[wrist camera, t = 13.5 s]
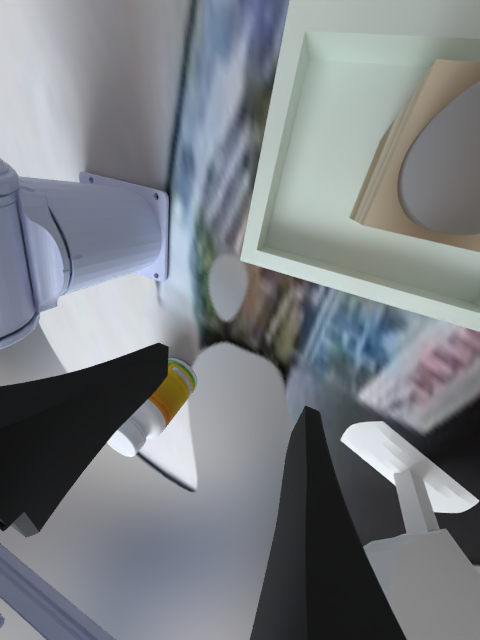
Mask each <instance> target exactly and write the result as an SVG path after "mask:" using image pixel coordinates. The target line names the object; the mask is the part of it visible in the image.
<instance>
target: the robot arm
mask: <svg viewBox="0 0 480 640" xmlns="http://www.w3.org/2000/svg"><path fill="white" fill-rule="evenodd" d="M79 180H80V183H77V182H68V181H58V180H48V179H39V178H29V177H19V176H18V175H17V173H16V171H15V170H14V169H13V168H12V167H11V166H10V165H8V164H7V163H5V162H4V161H3V160H2V159H0V349H2V348H5V347H7V346H10V345H12V344H14V343H16V342H18V341H19V340H21V339H23V338H24V337H26V336H27V335H28V334H30V333H31V332H32V331H33V330H34V329H35V327H36V326H37V324H38V322H39V319H40V312H42V311H45V310H48V309H51V308H54V307H57V300H58V298H59V297H60V296H62V295H65V294H68V293H71V292H74V291H77V290H80V289H84V288H87V287H90V286H93V285H96V284H99V283H102V282H106V281H109V280H112V279H115V278H118V277H121V276H124V275H127V274H131V273H137V274H140V275H143V276H146V277H148V278H151V279H154V280H157V281H160V282H164V281H166V280H167V256H168V210H169V197H168V194H167V193H166V192H165V191H161V190H157V189H153V188H149V187H145V186H141V185H137V184H133V183H129V182H124V181H120V180H116V179H112V178H108V177H104V176H100V175H96V174H92V173H87V172H80V173H79ZM93 180H94V182H93ZM157 194H158V196H159V198H158V199H157ZM157 274H158V276H159V277H158V276H157ZM168 350H169V347H168V346H165V345H163V344H161V343H156V344H154V345H151V346H148V347H145V348H143V349H140V350H138V351H135V352H132V353H130V354H127V355H124V356H121V357H119V358H116V359H113V360H110V361H107V362H104V363H101V364H98V365H95V366H92V367H89V368H85V369H82V370H78V371H75V372H71V373H67V374H63V375H59V376H55V377H50V378H45V379H40V380H35V381H30V382H25V383H20V384H14V385H7V386H0V529H1V530H2V531H4V530H6V529H7V528H8V527H9V526H10V525H11V526H12V527H13V528H15V529H16V530H17V531H18V532H20V533H21V534H22V535H24V536H25V537H29V536H32V535H35V534H36V533H38V532H40V530H41V529H42V527H43V526H44V524H45V523H46V521H47V520H48V519H49V517H50V516H51V514H52V513H53V512H54V510H55V509H56V507H57V506H58V505H59V503H60V502H61V500H62V499H63V498H64V496H65V495H66V493H67V492H68V491H69V490H70V488H71V487H72V486H73V484H74V483H75V482H76V480H77V479H78V478H79V476H80V475H81V474H82V472H83V471H84V470H85V469H86V467H87V466H88V465H89V464H90V462H91V461H92V459H94V457H95V456H96V455H97V453H98V452H99V451H100V450H101V448H102V447H103V446H104V445H105V444H106V443H107V442H108V440H109V439H110V438H111V437H112V436H113V434H114V433H115V432H116V431H117V430H118V429H119V428H120V427H121V426H122V425H123V424H124V423H125V422H126V421H127V420H128V419H129V418H130V417H131V416H132V415H133V414H134V413H135V412H136V411H137V410H138V409H139V408H140V407H141V406H142V405H143V404H144V403H145V402H146V401H147V400H148V399H149V398H150V397H151V396H152V394H153V393H154V392H155V391H156V390H157V389H158V388H159V386H160V385H161V384H162V382H163V381H164V380H165V378H166V377H167V376H168ZM0 598H1V599H3V600H4V601H5V602H6V603H7V604H8V605H9V606H10V607H11V608H12V609H14V610H15V611H16V612H17V613H18V614H19V615H20V616H21V617H22V618H23V619H24V620H26V621H27V622H28V623H29V624H30V625H31V626H32V627H33V628H35V630H37V631H38V632H39V633H40V634H41V635H42V636H43V637H44V638H46V640H116V639H114V638H113V637H112V636H111V635H109V634H108V633H107V632H106V631H105V630H103V629H102V628H101V627H100V626H98V625H97V624H96V623H95V622H94V621H93V620H91V619H90V618H89V617H88V616H87V615H85V614H84V613H83V612H82V611H81V610H79V609H78V608H77V607H76V606H75V605H73V604H72V603H71V602H70V601H69V600H67V599H66V598H65V597H64V596H63V595H61V594H60V593H59V592H58V591H57V590H55V589H54V588H53V587H52V586H51V585H49V584H48V583H47V582H45V580H43V579H42V578H41V577H40V576H38V575H37V574H36V573H35V572H34V571H33V570H31V569H30V568H29V567H28V566H27V565H25V564H24V563H23V562H22V561H20V560H19V559H18V558H17V557H16V556H14V555H13V554H12V553H11V552H10V551H8V550H7V549H6V548H5V547H4V546H2V545H1V544H0ZM4 620H5V619H4V618H3V616H2V615H1V614H0V628H1V627H2V625H3V624H4ZM250 640H407V639H406V637H405V635H404V633H403V631H402V629H401V627H400V625H399V623H398V621H397V619H396V617H395V615H394V613H393V611H392V609H391V607H390V605H389V602H388V600H387V598H386V596H385V594H384V592H383V590H382V587H381V585H380V583H379V581H378V579H377V577H376V575H375V572H374V570H373V568H372V566H371V564H370V562H369V560H368V557H367V555H366V553H365V550H364V548H363V546H362V543H361V541H360V539H359V536H358V534H357V532H356V529H355V526H354V524H353V521H352V519H351V516H350V514H349V511H348V509H347V506H346V503H345V500H344V498H343V495H342V492H341V489H340V486H339V483H338V480H337V477H336V474H335V470H334V467H333V464H332V460H331V457H330V453H329V450H328V446H327V442H326V438H325V433H324V429H323V424H322V419H321V414H320V412H319V411H317V410H315V409H312V408H310V407H308V406H305V407H304V409H303V411H302V413H301V415H300V417H299V419H298V421H297V423H296V425H295V427H294V429H293V431H292V433H291V437H290V441H289V445H288V449H287V453H286V459H285V466H284V473H283V480H282V488H281V496H280V503H279V511H278V517H277V523H276V528H275V533H274V538H273V542H272V547H271V551H270V556H269V560H268V565H267V569H266V574H265V578H264V583H263V587H262V591H261V595H260V599H259V604H258V608H257V612H256V616H255V621H254V625H253V629H252V633H251V637H250Z"/></svg>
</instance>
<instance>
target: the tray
mask: <svg viewBox="0 0 480 640" xmlns="http://www.w3.org/2000/svg"><path fill="white" fill-rule="evenodd" d="M436 59H442V60H457V61H472V62H480V0H290V2H289V7H288V12H287V18H286V23H285V28H284V33H283V39H282V44H281V49H280V54H279V60H278V65H277V70H276V75H275V81H274V86H273V91H272V96H271V102H270V107H269V112H268V117H267V123H266V128H265V133H264V138H263V144H262V149H261V154H260V159H259V165H258V170H257V175H256V180H255V186H254V191H253V196H252V201H251V207H250V212H249V217H248V222H247V228H246V233H245V238H244V243H243V249H242V254H241V259H240V261H243V262H247V263H250V264H254V265H257V266H260V267H264V268H267V269H270V270H274V271H277V272H280V273H284V274H287V275H290V276H294V277H297V278H300V279H304V280H307V281H311V282H314V283H317V284H321V285H324V286H327V287H331V288H334V289H337V290H341V291H344V292H347V293H351V294H354V295H357V296H361V297H364V298H368V299H371V300H374V301H378V302H381V303H384V304H388V305H391V306H394V307H398V308H401V309H404V310H408V311H411V312H414V313H418V314H421V315H425V316H428V317H431V318H435V319H438V320H441V321H445V322H448V323H451V324H455V325H458V326H461V327H465V328H468V329H471V330H475V331H478V332H480V252H476V251H471V250H467V249H463V248H458V247H454V246H450V245H445V244H441V243H437V242H432V241H428V240H424V239H419V238H415V237H411V236H406V235H402V234H398V233H393V232H389V231H385V230H381V229H376V228H372V227H368V226H363V225H361V224H359V223H358V222H356V221H354V220H352V219H350V218H349V216H350V214H351V212H352V209H353V207H354V204H355V202H356V199H357V197H358V194H359V192H360V189H361V187H362V184H363V182H364V179H365V177H366V174H367V172H368V169H369V167H370V164H371V162H372V160H373V157H374V155H375V152H376V150H377V147H378V145H379V142H380V140H381V139H382V137H383V136H384V134H385V133H386V131H387V130H388V128H389V127H390V125H391V124H392V123H393V121H394V120H395V118H396V117H397V115H398V114H399V112H400V111H401V109H402V108H403V107H404V105H405V104H406V102H407V101H408V99H409V98H410V96H411V95H412V93H413V92H414V90H415V89H416V88H417V86H418V85H419V83H420V82H421V80H422V79H423V77H424V76H425V74H426V73H427V72H428V70H429V69H430V67H431V66H432V64H433V63H434V61H435V60H436Z"/></svg>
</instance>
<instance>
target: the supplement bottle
mask: <svg viewBox="0 0 480 640" xmlns="http://www.w3.org/2000/svg"><path fill="white" fill-rule="evenodd" d="M196 385H197V378H196V375H195V373H194V371H193V370H192V368H191V367H190V366H189V365H188V364H186V363H185V362H183V361H182V360H179V359H176V358H168V376H167V377H166V378H165V380H164V381H163V382H162V384H161V385H160V386H159V388H158V389H157V390H156V391H155V392H154V393H153V394H152V396H151V397H150V398H149V399H148V400H147V401H146V402H145V403H144V404H143V405H142V406H141V407H140V408H139V409H138V410H137V411H136V412H135V413H134V414H133V415H132V416H131V417H130V418H129V419H128V420H127V421H126V422H125V423H124V424H123V425H122V426H121V427H120V428H119V429H118V430H117V431H116V432H115V433H114V434H113V436H112V437H111V438H110V439H109V440H108V442H107V443H108V444H109V445H110V446H111V447H112V448H113V449H114V450H116V451H117V452H119V453H120V454H122V455H124V456H128V457H132V456H134V455H136V453H137V452H138V451H139V450H140V449H141V447H142V446H143V445H144V443H145V442H146V438H147V439H151V438H155V437H157V436H159V435H160V434H161V433H162V432H163V430H164V429H165V428H166V427H167V425H168V424H169V423H170V421H171V420H172V419H173V417H174V416H175V415H176V413H177V412H178V411H179V410H180V408H181V407H182V406H183V404H184V403H185V402H186V400H187V399H188V398H189V396H190V395H191V394H192V393H193V391H194V390H195V388H196Z"/></svg>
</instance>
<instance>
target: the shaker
mask: <svg viewBox="0 0 480 640" xmlns="http://www.w3.org/2000/svg"><path fill="white" fill-rule="evenodd" d="M349 218H350V219H352V220H354V221H356V222H358V223H359V224H361V225H363V226H368V227H372V228H376V229H381V230H385V231H389V232H393V233H398V234H402V235H406V236H411V237H415V238H419V239H424V240H428V241H432V242H437V243H441V244H445V245H450V246H454V247H458V248H463V249H467V250H471V251H476V252H480V62H472V61H457V60H442V59H436V60H435V61H434V63H433V64H432V66H431V67H430V69H429V70H428V72H427V73H426V74H425V76H424V77H423V79H422V80H421V82H420V83H419V85H418V86H417V88H416V89H415V90H414V92H413V93H412V95H411V96H410V98H409V99H408V101H407V102H406V104H405V105H404V107H403V108H402V109H401V111H400V112H399V114H398V115H397V117H396V118H395V120H394V121H393V123H392V124H391V125H390V127H389V128H388V130H387V131H386V133H385V134H384V136H383V137H382V139H381V140H380V142H379V145H378V147H377V150H376V152H375V155H374V157H373V160H372V162H371V164H370V167H369V169H368V172H367V174H366V177H365V179H364V182H363V184H362V187H361V189H360V192H359V194H358V197H357V199H356V202H355V204H354V207H353V209H352V212H351V214H350V216H349Z"/></svg>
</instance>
